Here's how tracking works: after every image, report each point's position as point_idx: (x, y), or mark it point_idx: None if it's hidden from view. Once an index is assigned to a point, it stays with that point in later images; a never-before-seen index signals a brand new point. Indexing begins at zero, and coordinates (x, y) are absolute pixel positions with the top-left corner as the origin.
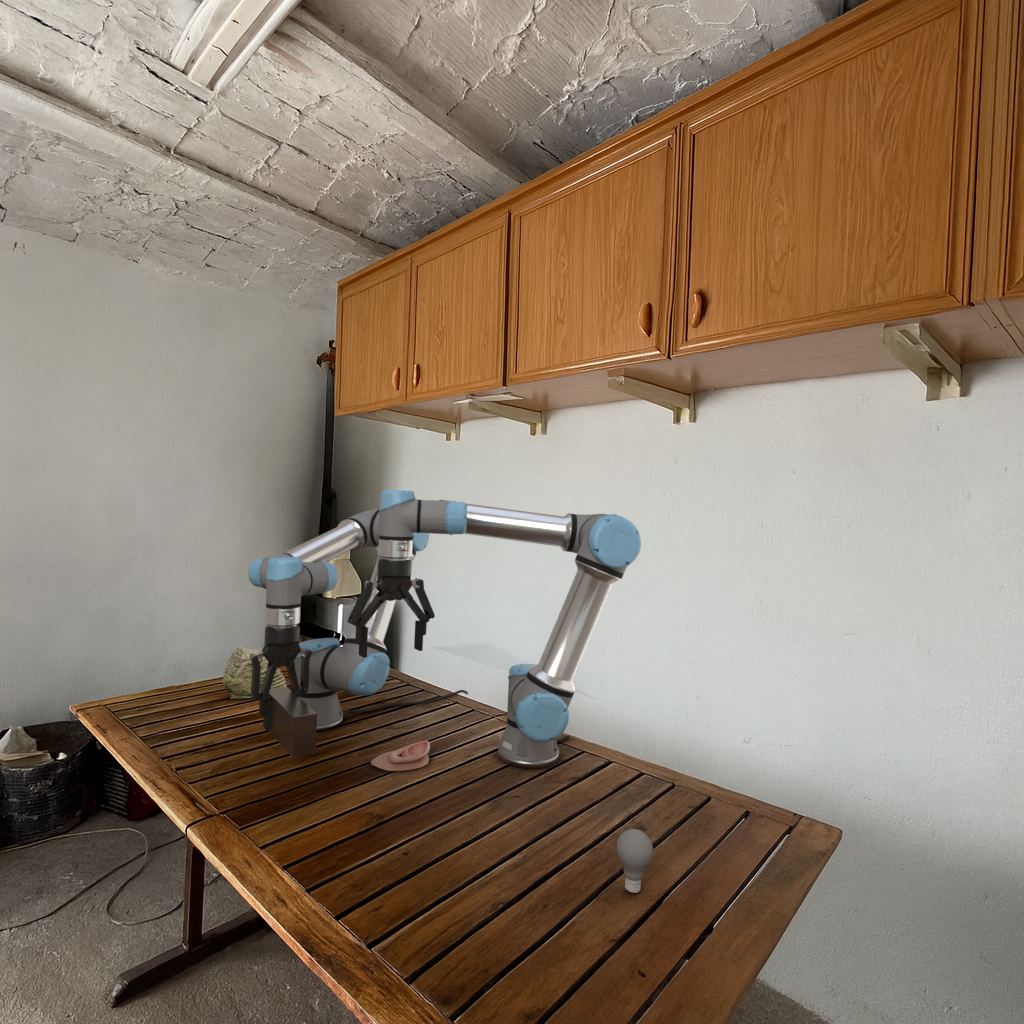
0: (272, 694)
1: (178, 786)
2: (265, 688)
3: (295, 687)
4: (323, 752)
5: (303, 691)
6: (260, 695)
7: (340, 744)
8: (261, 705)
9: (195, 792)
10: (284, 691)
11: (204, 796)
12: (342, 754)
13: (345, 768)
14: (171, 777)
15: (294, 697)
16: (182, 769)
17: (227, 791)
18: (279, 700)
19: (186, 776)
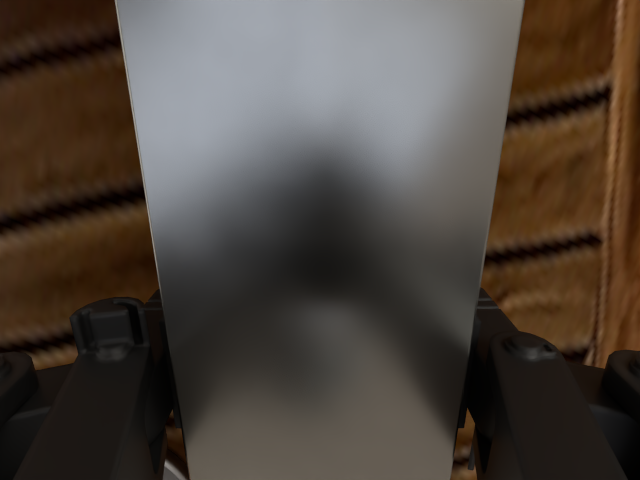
0: (441, 382)
1: (635, 232)
2: (608, 462)
3: (106, 418)
4: (128, 264)
5: (35, 373)
6: (589, 402)
7: (55, 301)
8: (510, 325)
9: (615, 157)
10: (267, 425)
11: (606, 106)
12: (63, 213)
13: (73, 74)
14: (621, 308)
15: (199, 105)
16: (571, 348)
17: (527, 106)
18: (474, 56)
19: (583, 294)
